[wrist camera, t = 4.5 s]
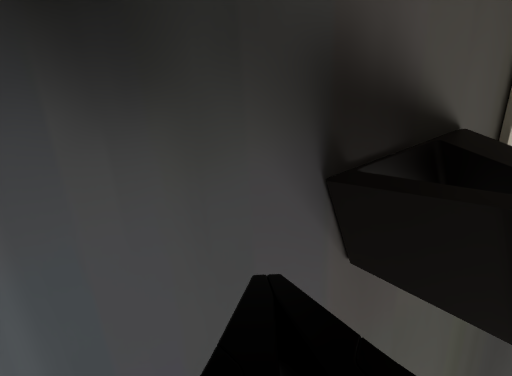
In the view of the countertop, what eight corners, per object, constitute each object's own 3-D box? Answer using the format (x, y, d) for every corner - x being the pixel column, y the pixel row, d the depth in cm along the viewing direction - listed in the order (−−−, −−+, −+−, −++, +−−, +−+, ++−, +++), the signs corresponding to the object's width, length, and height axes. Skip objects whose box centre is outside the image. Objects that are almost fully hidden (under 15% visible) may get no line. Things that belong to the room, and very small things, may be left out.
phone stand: (461, 128, 17) (919, 158, 6) (473, 214, 19) (849, 369, 8) (323, 178, 17) (515, 306, 6) (347, 260, 19) (533, 486, 8)
